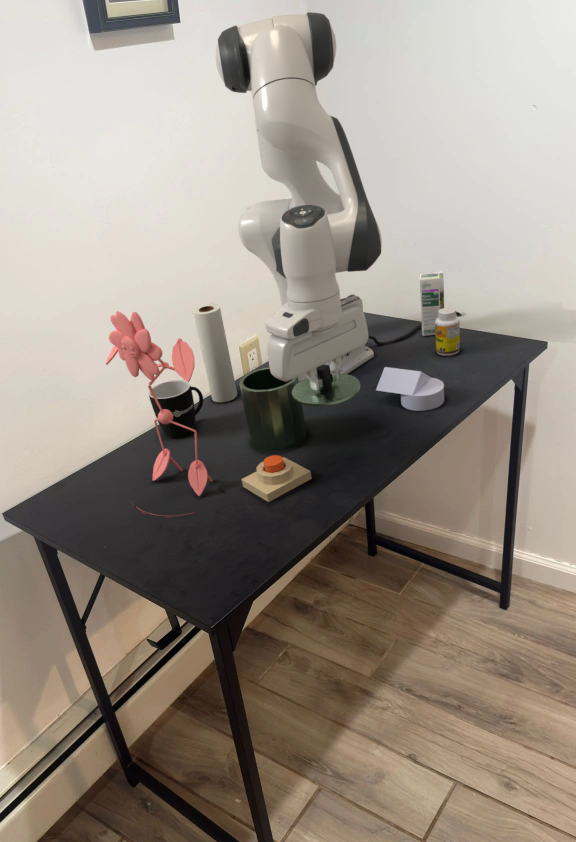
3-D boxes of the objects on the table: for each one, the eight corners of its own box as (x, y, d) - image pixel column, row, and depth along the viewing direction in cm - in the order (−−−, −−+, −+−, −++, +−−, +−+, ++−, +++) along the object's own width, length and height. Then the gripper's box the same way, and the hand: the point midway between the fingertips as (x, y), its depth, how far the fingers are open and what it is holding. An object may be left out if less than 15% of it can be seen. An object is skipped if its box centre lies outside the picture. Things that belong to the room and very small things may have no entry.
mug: (175, 445, 152) (164, 402, 146) (152, 434, 158) (140, 392, 152) (219, 422, 158) (210, 379, 152) (195, 412, 164) (185, 371, 158)
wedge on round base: (376, 404, 154) (432, 413, 147) (374, 375, 150) (431, 383, 143) (396, 387, 160) (451, 394, 153) (394, 358, 156) (450, 365, 149)
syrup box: (421, 336, 182) (419, 279, 174) (422, 328, 186) (419, 272, 178) (445, 335, 180) (443, 277, 172) (444, 326, 185) (443, 269, 177)
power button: (276, 461, 133) (275, 453, 132) (288, 467, 130) (287, 459, 129) (261, 469, 131) (259, 461, 130) (272, 475, 129) (271, 467, 128)
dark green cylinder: (283, 420, 154) (274, 361, 147) (318, 436, 146) (309, 375, 139) (240, 441, 149) (228, 381, 142) (273, 459, 141) (262, 396, 133)
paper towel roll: (224, 405, 165) (205, 314, 153) (206, 400, 169) (186, 311, 157) (246, 392, 169) (229, 303, 157) (228, 388, 173) (210, 300, 161)
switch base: (285, 467, 138) (282, 448, 136) (312, 481, 132) (309, 462, 130) (243, 489, 133) (239, 470, 131) (269, 504, 128) (265, 485, 125)
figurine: (158, 458, 148) (110, 290, 129) (246, 491, 132) (207, 305, 113) (98, 494, 139) (37, 319, 120) (185, 534, 124) (131, 341, 104)
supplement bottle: (432, 350, 174) (431, 309, 168) (454, 345, 174) (454, 304, 168) (440, 358, 169) (439, 316, 163) (463, 353, 169) (463, 311, 164)
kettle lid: (329, 372, 138) (326, 347, 135) (374, 389, 129) (372, 362, 126) (279, 397, 132) (274, 371, 129) (322, 416, 124) (318, 389, 121)
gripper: (348, 288, 129) (355, 360, 136) (257, 326, 120) (270, 401, 127) (372, 293, 124) (378, 368, 132) (280, 334, 115) (292, 411, 123)
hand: (325, 384), depth 130 cm, fingers closed on kettle lid, 2 cm apart
